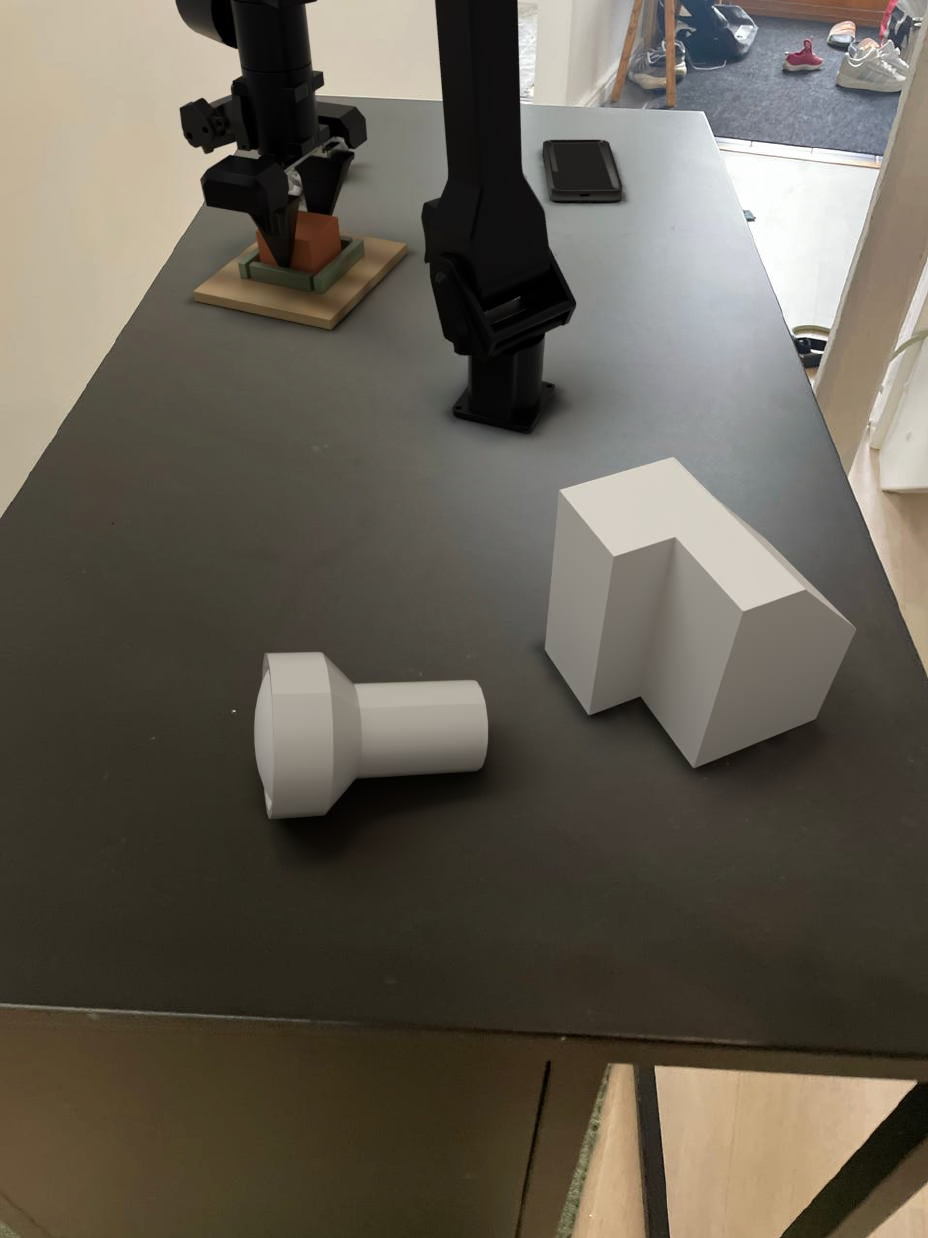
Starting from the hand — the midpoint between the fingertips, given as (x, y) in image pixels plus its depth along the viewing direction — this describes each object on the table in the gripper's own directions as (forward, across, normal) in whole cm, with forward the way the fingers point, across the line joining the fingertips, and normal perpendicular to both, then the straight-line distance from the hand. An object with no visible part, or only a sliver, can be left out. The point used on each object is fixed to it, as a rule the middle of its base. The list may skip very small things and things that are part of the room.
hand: (302, 251), depth 85 cm
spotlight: (+3, +48, +30) cm, 57 cm away
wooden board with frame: (+2, 0, 0) cm, 2 cm away
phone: (+2, -33, +17) cm, 37 cm away
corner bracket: (+3, +36, +44) cm, 57 cm away
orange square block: (+1, 0, 0) cm, 1 cm away
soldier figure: (+2, -20, -9) cm, 22 cm away
